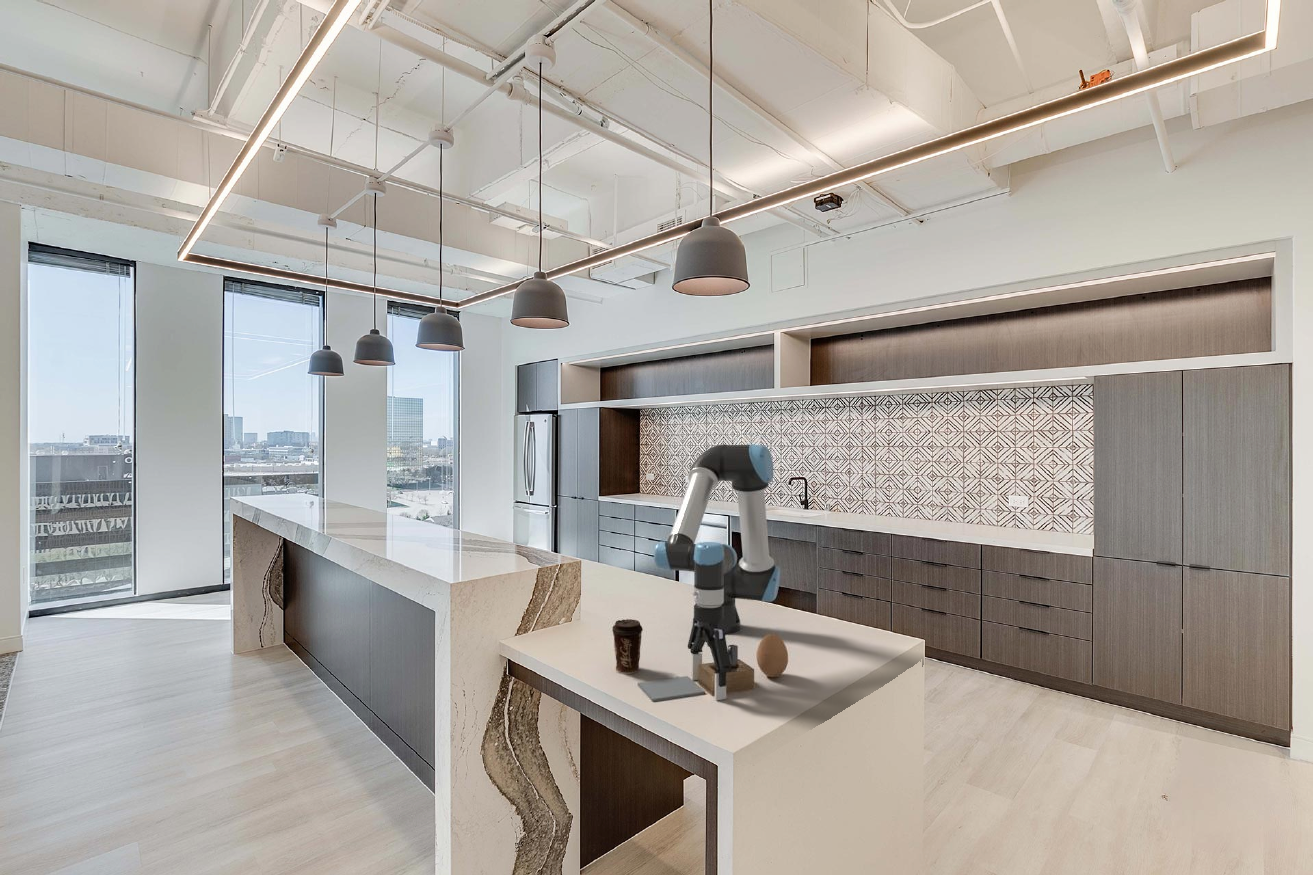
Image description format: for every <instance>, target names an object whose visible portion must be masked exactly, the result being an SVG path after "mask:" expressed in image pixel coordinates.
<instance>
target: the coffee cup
mask: <svg viewBox="0 0 1313 875" xmlns="http://www.w3.org/2000/svg"><path fill="white" fill-rule="evenodd" d="M643 631H644V630H643V627H642V625H641V623H640V621H639V620H637V619H631V618H630V619H629V618H627V619H619V620H616V621H615V623H614V624H613V625H612V634H613V639H614V641H613V643H614V644H613V646H614V647H613V648H614V653H615V654H614V655H615V660H616V665H615V671H616V673H619V674H622V675H623V674H624V675H631V674H636V673H637V672H638V671H639V669H640V659H641V645H642V632H643Z"/></svg>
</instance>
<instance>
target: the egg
mask: <svg viewBox="0 0 1313 875" xmlns="http://www.w3.org/2000/svg"><path fill="white" fill-rule="evenodd" d="M756 663H757V665H758V667H759V669H760V671H761V672H762V673H763V675H765V676H767V677H769V678H776V677H779V676H781V675H782V674H783V673H784V672H785V671H786V669H787V666H788V664H789V654H788V649H787V646H786V644H785V643H784V640H783V639H782V638H781V637H780V636H778V635H777V634H775V633H768V634H767V635H765V636H763V638H762V639H761V641H759V644H758V646H757V650H756Z"/></svg>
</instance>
